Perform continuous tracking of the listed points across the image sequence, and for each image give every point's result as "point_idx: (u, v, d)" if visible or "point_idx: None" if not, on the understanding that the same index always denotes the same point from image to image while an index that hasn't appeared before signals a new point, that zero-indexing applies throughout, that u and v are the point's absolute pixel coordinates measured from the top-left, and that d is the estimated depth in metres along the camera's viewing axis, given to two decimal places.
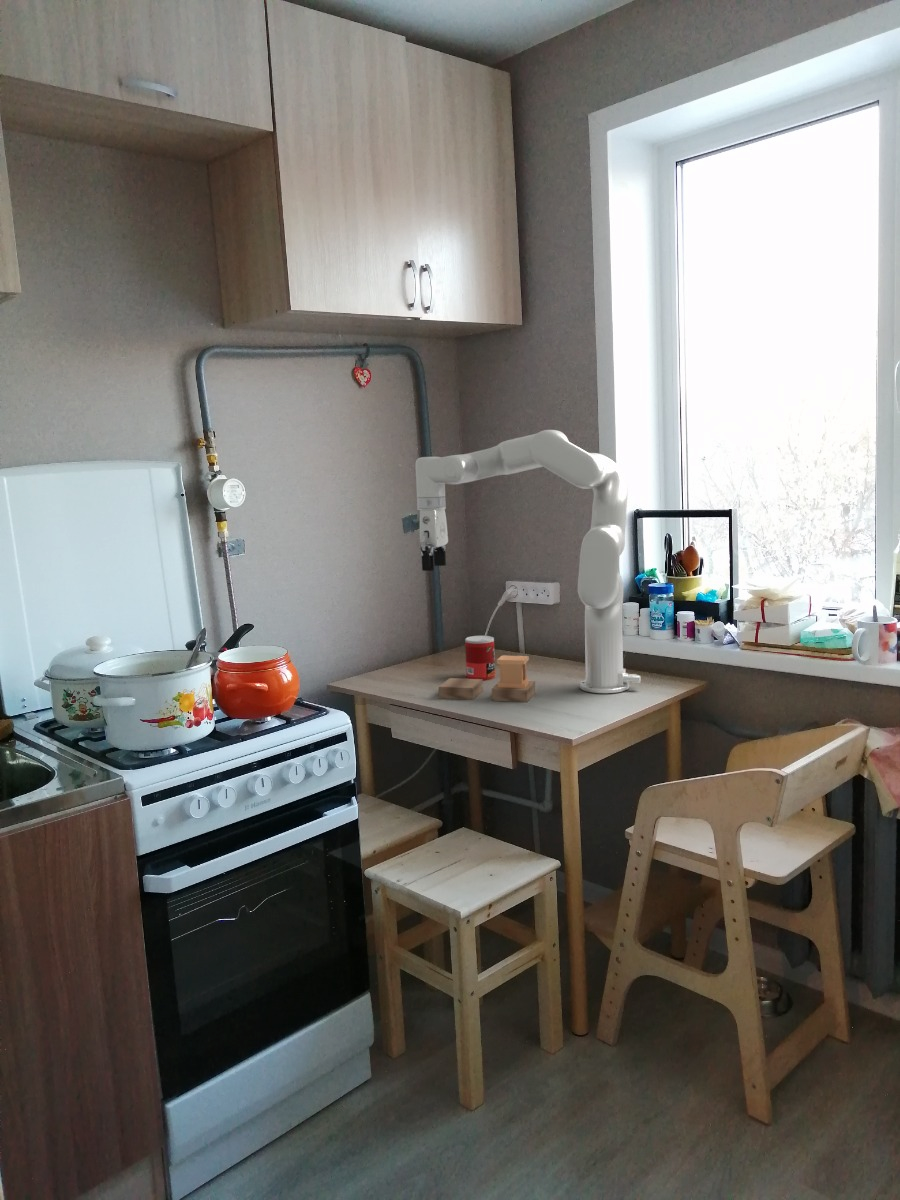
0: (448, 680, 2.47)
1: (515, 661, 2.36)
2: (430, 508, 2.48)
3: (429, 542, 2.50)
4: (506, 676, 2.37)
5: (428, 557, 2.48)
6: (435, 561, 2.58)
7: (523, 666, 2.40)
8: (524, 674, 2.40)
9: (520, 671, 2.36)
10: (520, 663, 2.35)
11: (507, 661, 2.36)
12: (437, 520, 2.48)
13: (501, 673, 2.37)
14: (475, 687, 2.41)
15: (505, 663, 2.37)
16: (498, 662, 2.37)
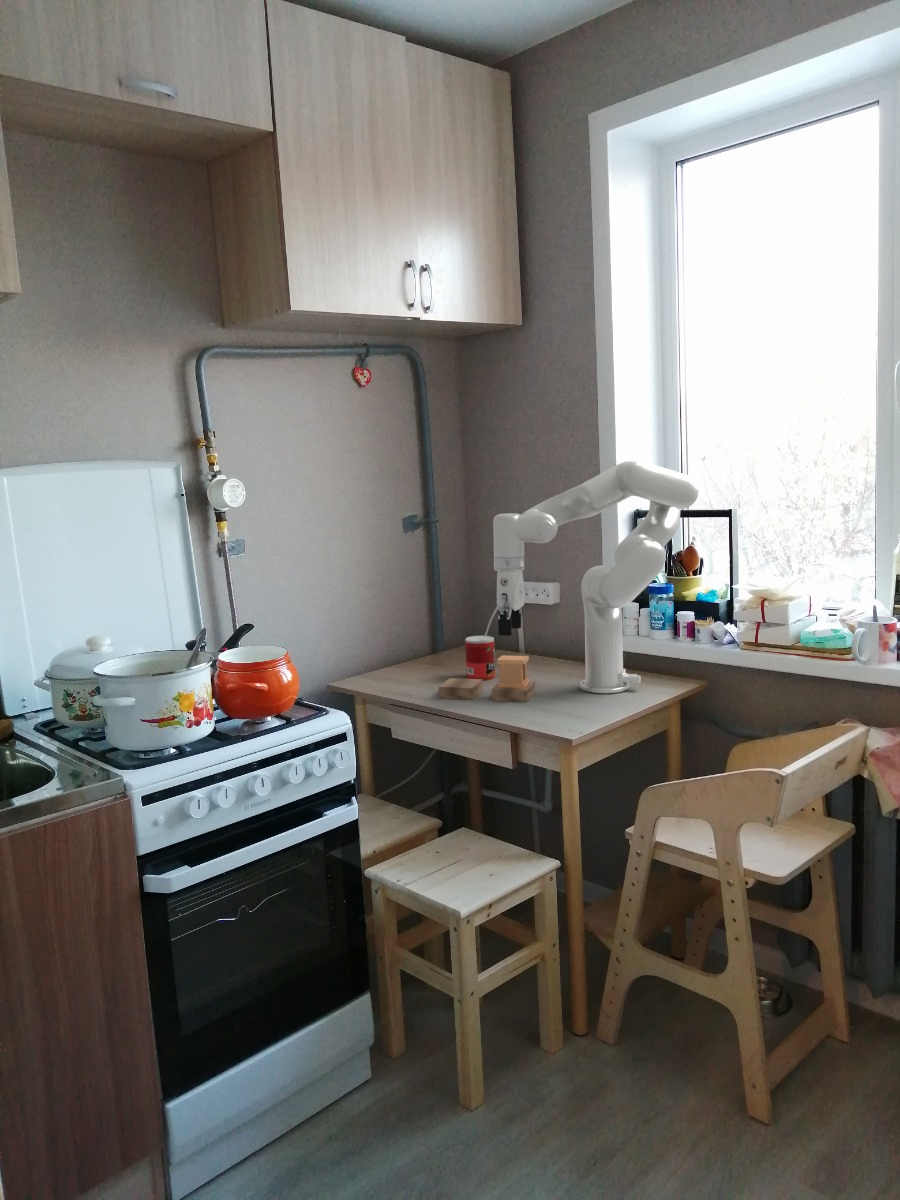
0: (448, 680, 2.47)
1: (515, 661, 2.36)
2: (509, 569, 2.31)
3: (506, 605, 2.33)
4: (506, 676, 2.37)
5: (506, 621, 2.31)
6: None
7: (523, 666, 2.40)
8: (524, 674, 2.40)
9: (520, 671, 2.36)
10: (520, 663, 2.35)
11: (507, 661, 2.36)
12: (516, 582, 2.31)
13: (501, 673, 2.37)
14: (475, 687, 2.41)
15: (505, 663, 2.37)
16: (498, 662, 2.37)
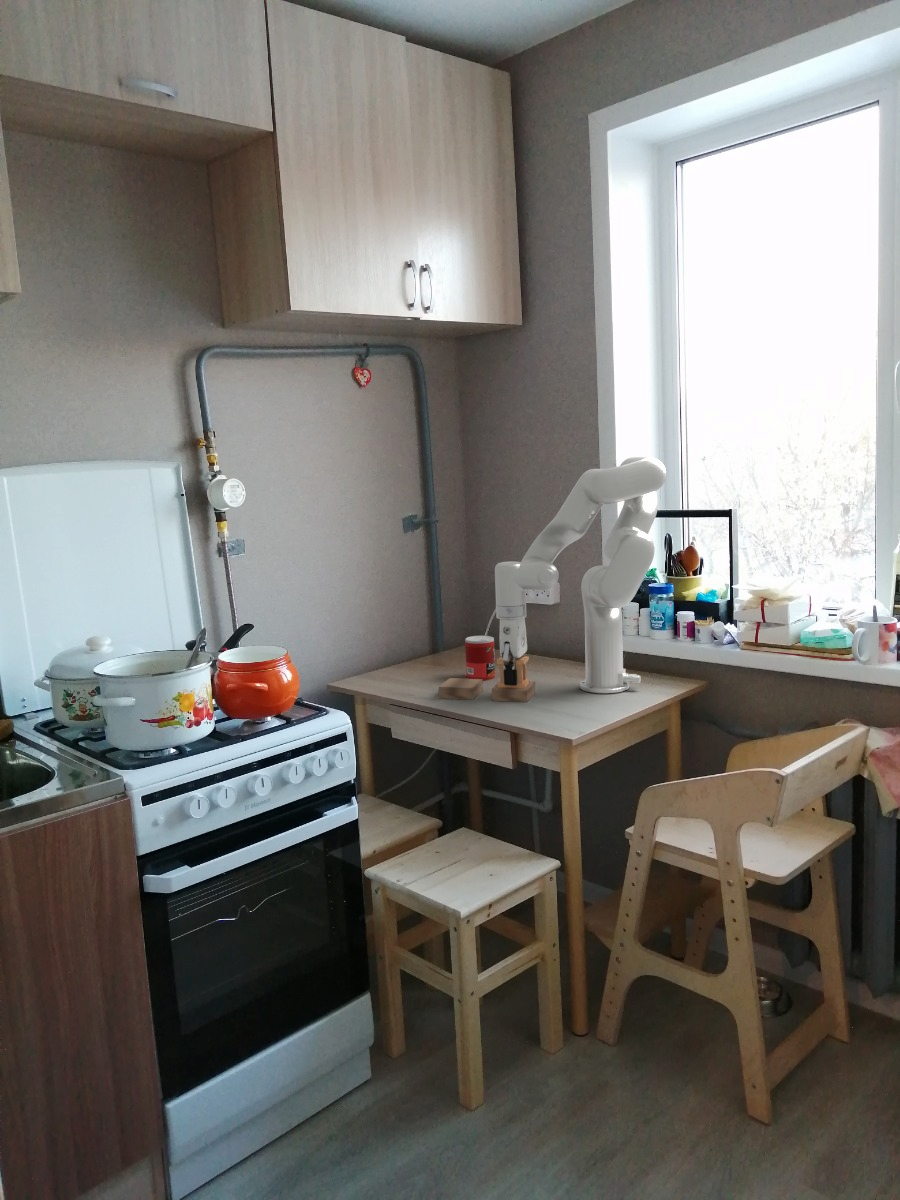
0: (448, 680, 2.47)
1: None
2: (511, 617, 2.33)
3: (510, 653, 2.36)
4: None
5: (511, 672, 2.35)
6: None
7: (523, 666, 2.40)
8: (524, 674, 2.40)
9: (520, 671, 2.36)
10: (520, 663, 2.35)
11: None
12: (518, 630, 2.33)
13: (501, 673, 2.37)
14: (475, 687, 2.41)
15: None
16: (498, 662, 2.37)
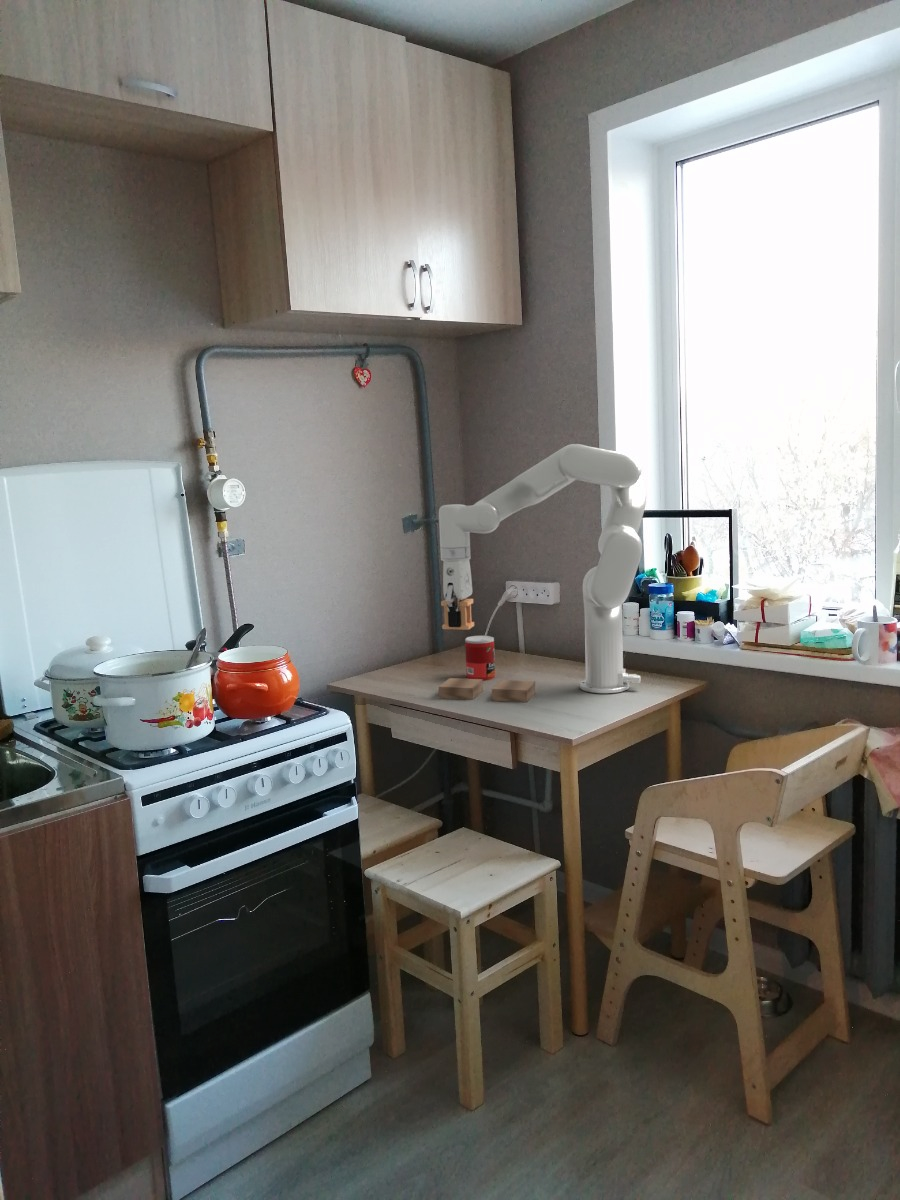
0: (448, 680, 2.47)
1: None
2: (454, 559, 2.35)
3: None
4: None
5: (455, 613, 2.37)
6: None
7: (468, 609, 2.42)
8: (469, 617, 2.42)
9: (464, 613, 2.38)
10: (464, 605, 2.38)
11: None
12: (462, 572, 2.35)
13: (446, 615, 2.40)
14: (475, 687, 2.41)
15: None
16: (442, 604, 2.39)
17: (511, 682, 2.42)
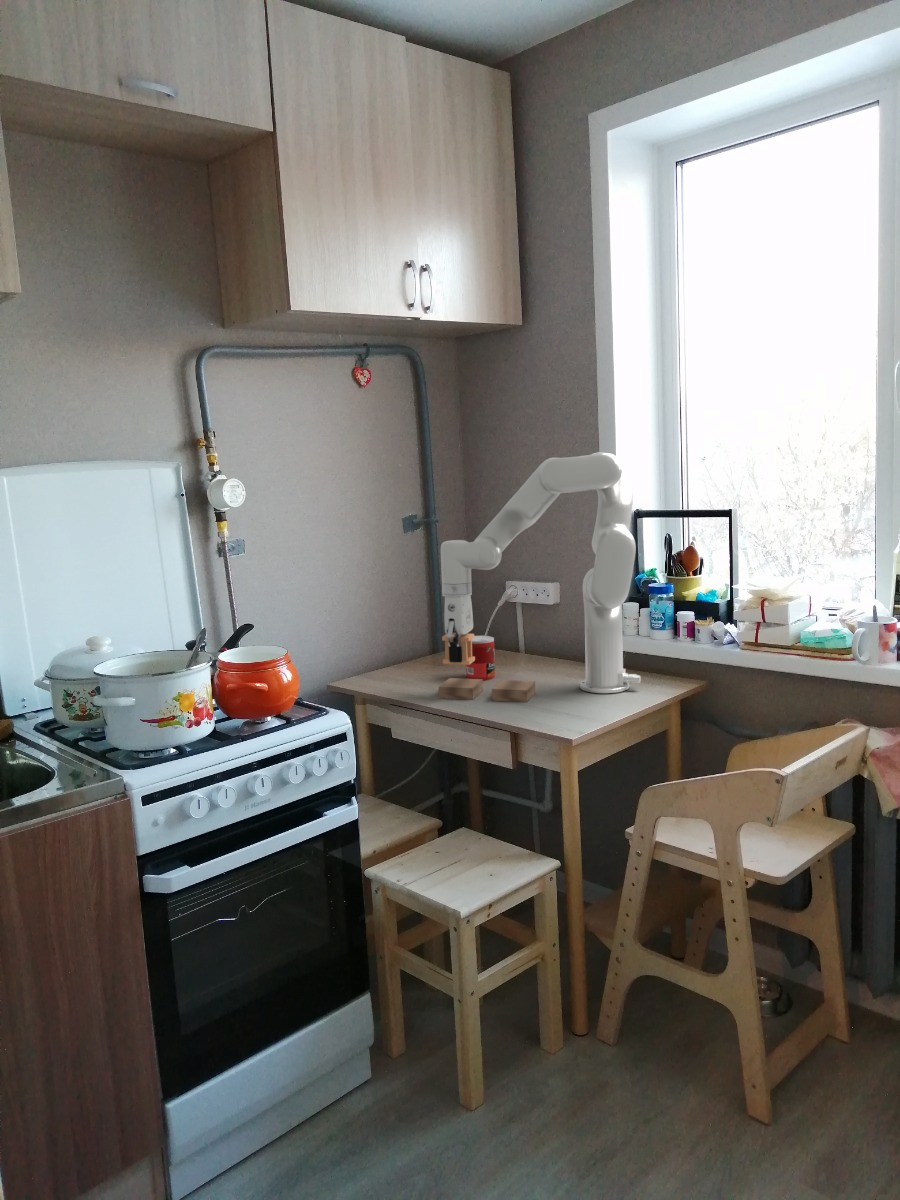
0: (448, 680, 2.47)
1: None
2: (456, 595, 2.37)
3: None
4: None
5: (456, 649, 2.39)
6: None
7: (468, 643, 2.43)
8: (469, 651, 2.43)
9: (465, 648, 2.39)
10: (465, 640, 2.39)
11: None
12: (463, 607, 2.37)
13: (447, 650, 2.41)
14: (475, 687, 2.41)
15: None
16: (443, 639, 2.41)
17: (511, 682, 2.42)
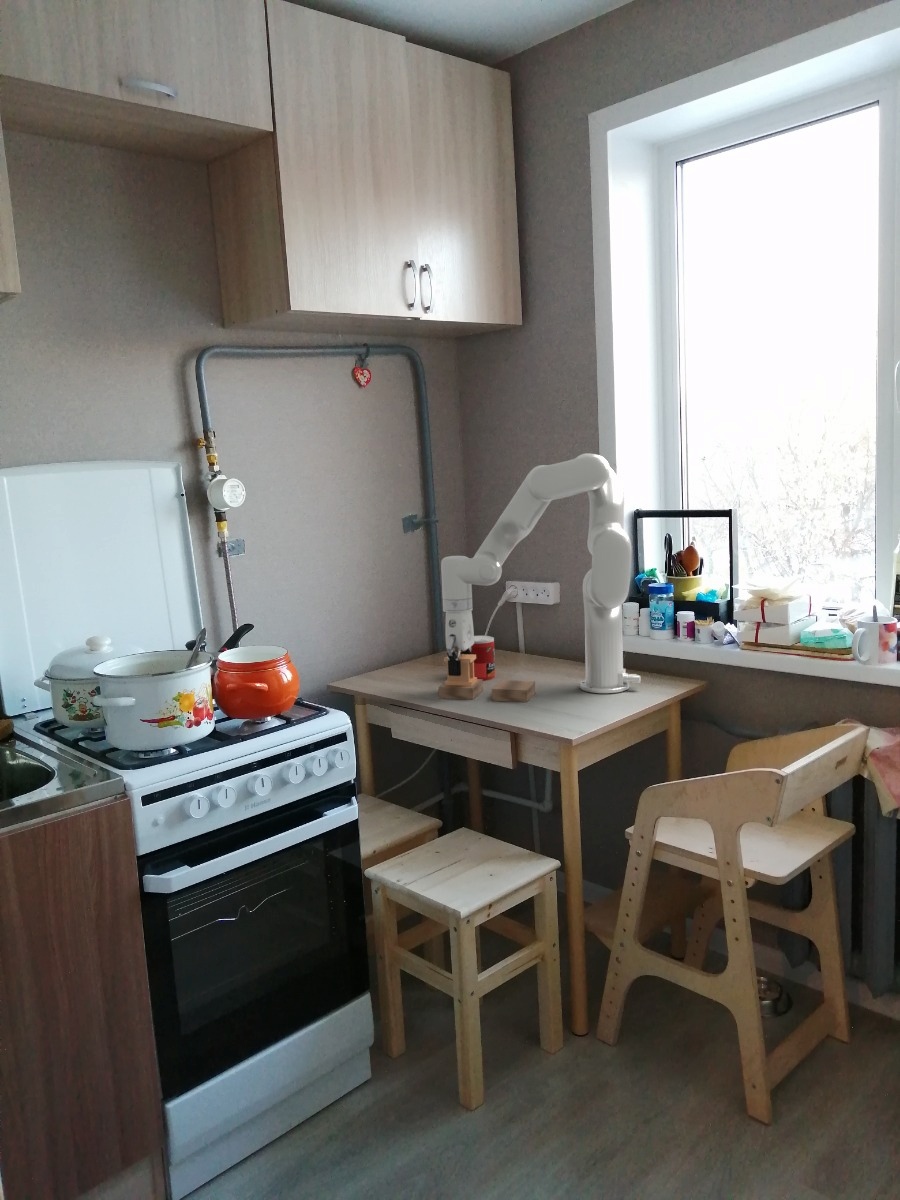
0: None
1: (462, 659, 2.40)
2: (456, 611, 2.37)
3: (455, 645, 2.39)
4: None
5: (455, 662, 2.38)
6: None
7: (470, 664, 2.44)
8: (471, 672, 2.44)
9: (467, 669, 2.40)
10: (467, 661, 2.40)
11: None
12: (464, 623, 2.38)
13: None
14: (475, 687, 2.41)
15: None
16: (445, 660, 2.42)
17: (511, 682, 2.42)
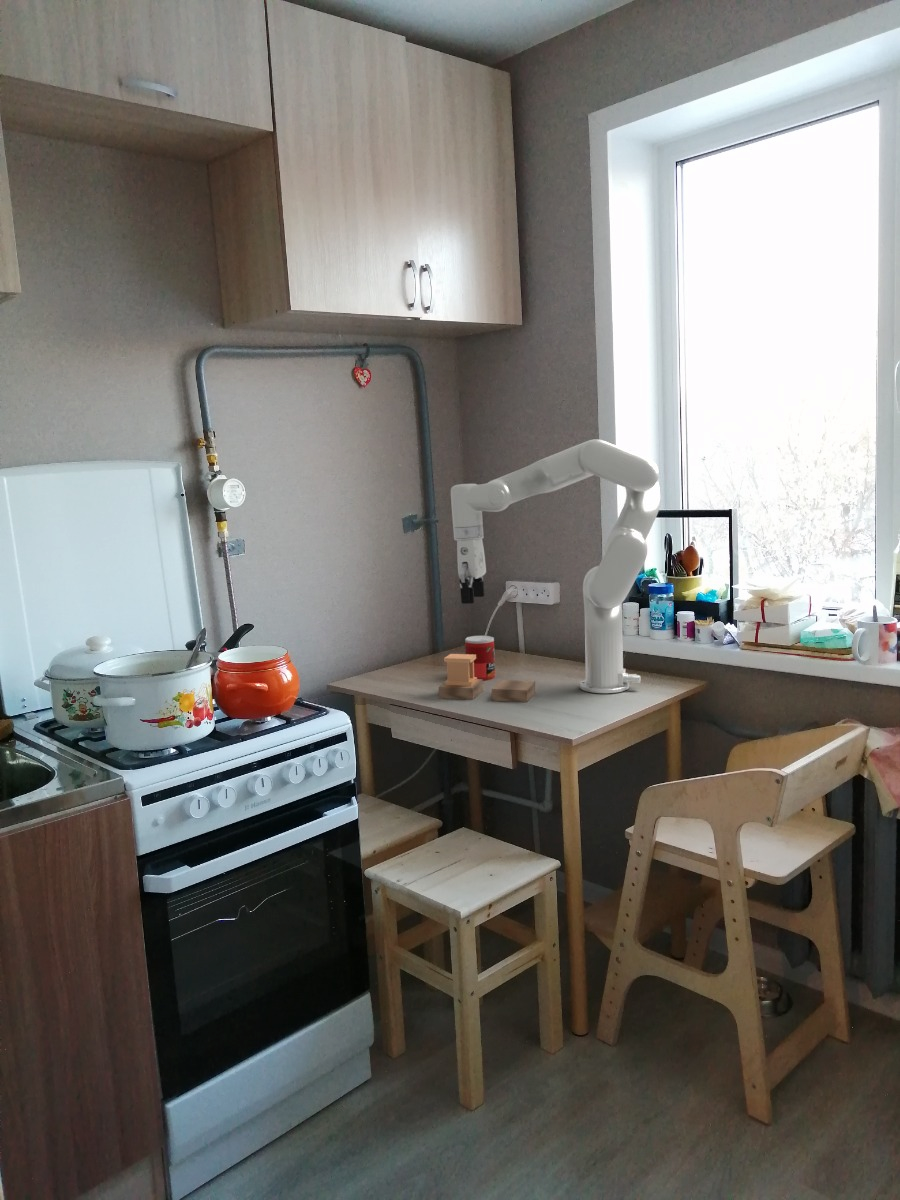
0: None
1: (462, 659, 2.40)
2: (468, 538, 2.36)
3: (468, 573, 2.38)
4: (453, 674, 2.42)
5: (467, 589, 2.36)
6: None
7: (470, 664, 2.44)
8: (471, 672, 2.44)
9: (467, 669, 2.40)
10: (467, 661, 2.40)
11: (454, 659, 2.41)
12: (476, 550, 2.36)
13: (449, 671, 2.42)
14: (475, 687, 2.41)
15: (452, 661, 2.41)
16: (445, 660, 2.42)
17: (511, 682, 2.42)
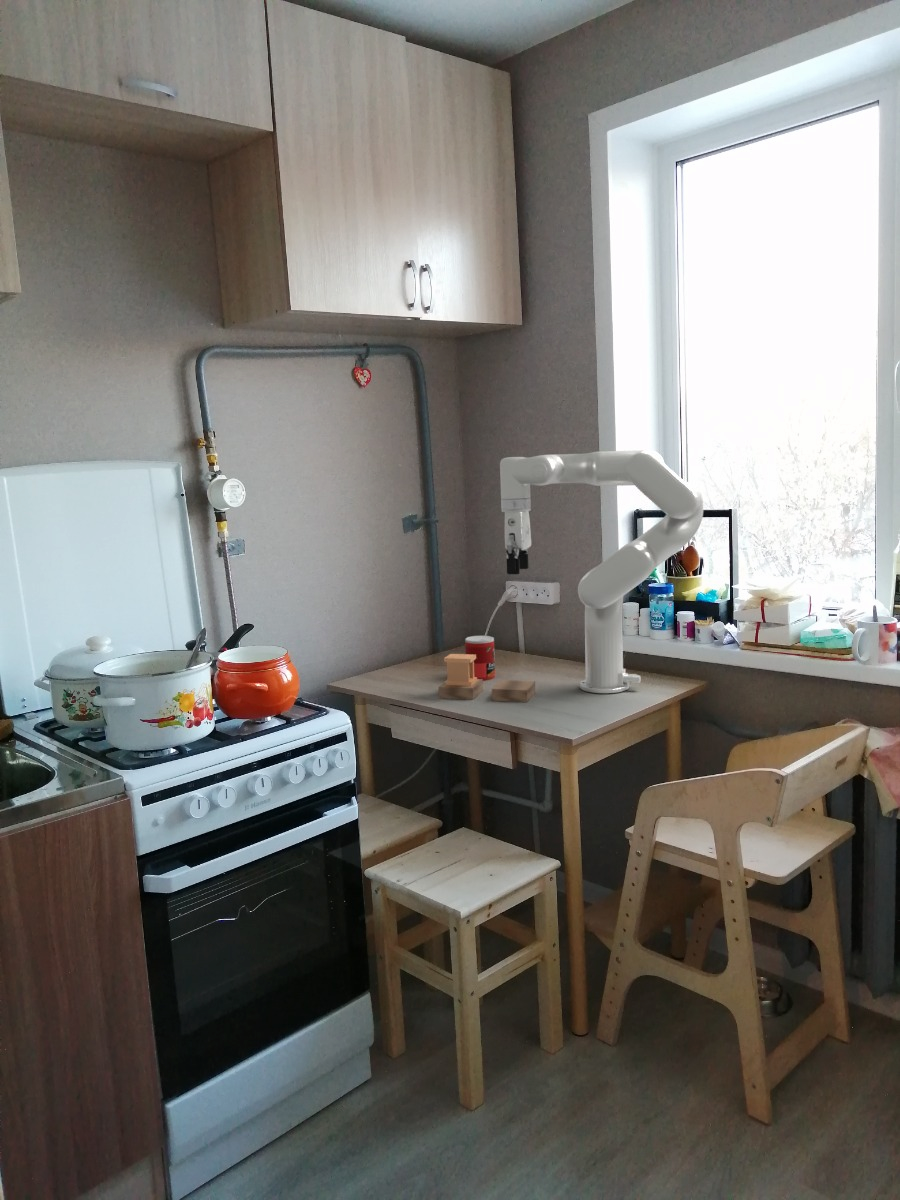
0: None
1: (462, 659, 2.40)
2: (516, 510, 2.40)
3: (514, 545, 2.43)
4: (453, 674, 2.42)
5: (514, 560, 2.41)
6: None
7: (470, 664, 2.44)
8: (471, 672, 2.44)
9: (467, 669, 2.40)
10: (467, 661, 2.40)
11: (454, 659, 2.41)
12: (523, 522, 2.41)
13: (449, 671, 2.42)
14: (475, 687, 2.41)
15: (452, 661, 2.41)
16: (445, 660, 2.42)
17: (511, 682, 2.42)
